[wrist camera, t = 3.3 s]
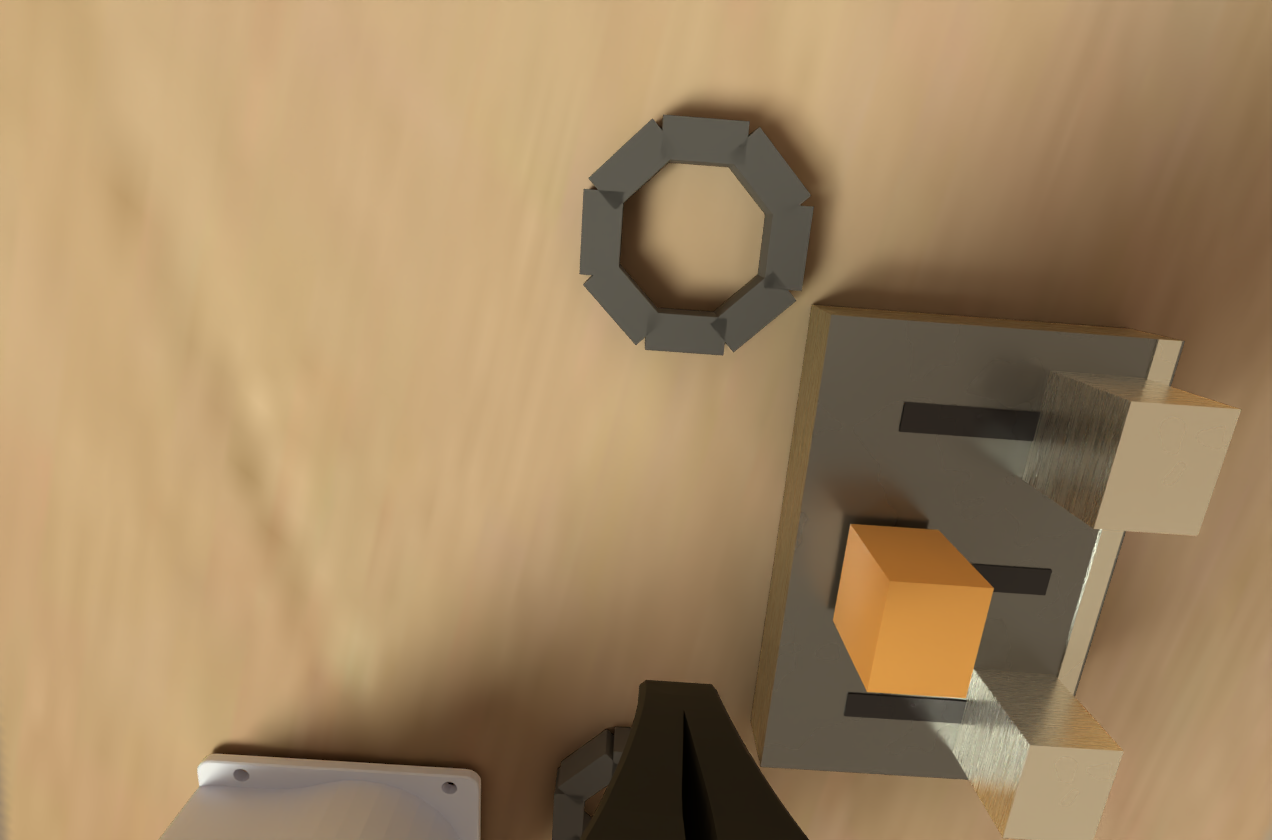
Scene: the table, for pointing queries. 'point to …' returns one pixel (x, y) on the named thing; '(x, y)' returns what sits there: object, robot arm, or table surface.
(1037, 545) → the breaker strip
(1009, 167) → the table surface
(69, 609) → the table surface
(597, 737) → the coil
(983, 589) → the orange breaker switch
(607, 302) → the coil
